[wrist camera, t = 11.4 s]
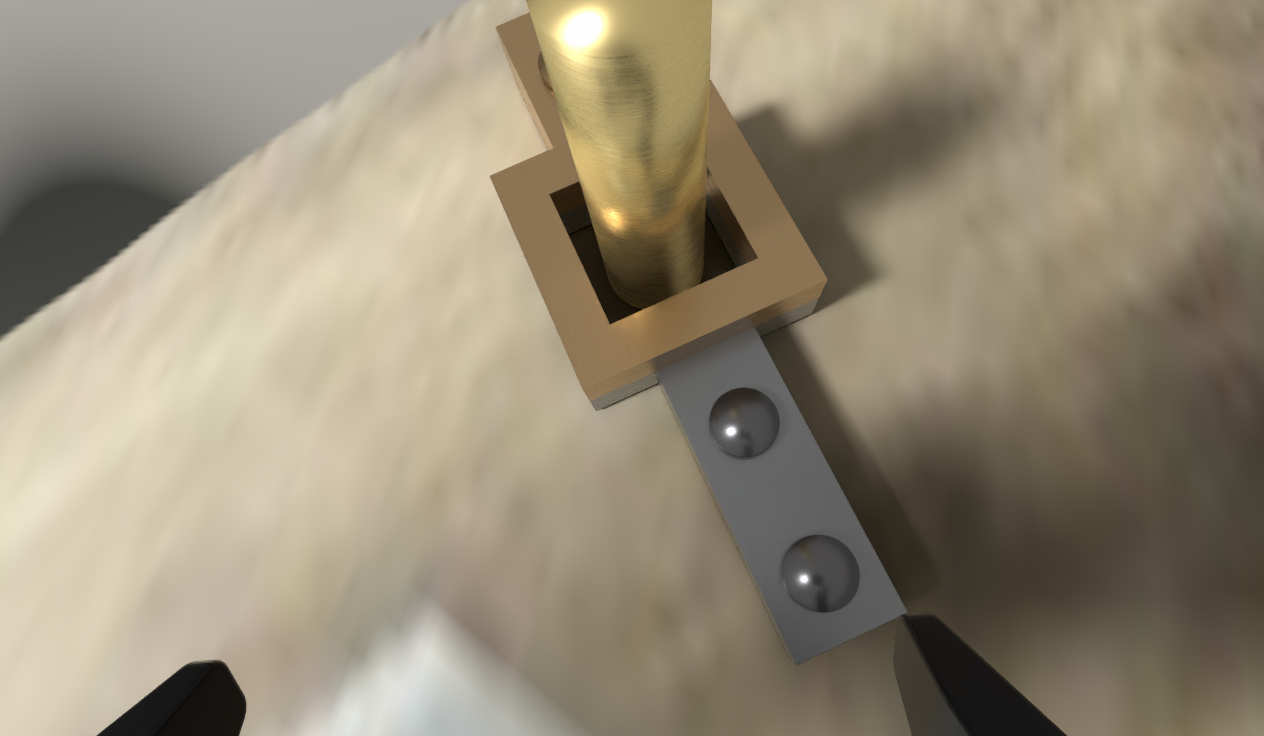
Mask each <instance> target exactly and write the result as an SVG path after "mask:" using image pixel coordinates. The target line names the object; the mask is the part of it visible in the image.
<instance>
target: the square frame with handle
mask: <svg viewBox="0 0 1264 736" xmlns="http://www.w3.org/2000/svg"><path fill="white" fill-rule="evenodd" d="M496 30H497V33H498V36H499V38H500V41H501V44H502V46H503V49H504V52H505V55H506V57H507V60H508V63H509V66H510V68H511V71H512V74H513V77H514V79H515V82H516V84H517V86H518V89H519V91H520V93H521V95H522V97H523V99H524V101H525V103H526V105H527V107H528V110H529V112H530V114H531V116H532V118H533V120H534V122H535V124H536V126H537V129H538V131H539V133H540V135H541V137H542V139H543V141H544V143H545V145H546V147H547V150H548V151H546V152H544V153H541V154H539V155H537V156H534V157H532V158H530V159H527V160H525V161H523V162H521V163H518V164H516V165H514V166H511V167H509V168H507V169H504V170H502V171H500V172H498V173H495V174H493V175H491V176H490V178H491V180H492V182H493V185H494V187H495V189H496V192H497V194H498V196H499V198H500V201H501V203H502V205H503V208H504V210H505V212H506V214H507V217H508V219H509V221H510V224H511V226H512V228H513V230H514V233H515V235H516V237H517V240H518V242H519V244H520V246H521V249H522V251H523V253H524V256H525V258H526V260H527V263H528V265H529V267H530V269H531V272H532V274H533V276H534V279H535V281H536V283H537V285H538V288H539V290H540V292H541V295H542V297H543V299H544V301H545V304H546V306H547V308H548V311H549V313H550V315H551V317H552V320H553V322H554V324H555V327H556V329H557V331H558V333H559V336H560V338H561V340H562V343H563V345H564V347H565V349H566V352H567V354H568V356H569V359H570V361H571V363H572V365H573V368H574V370H575V372H576V375H577V377H578V379H579V381H580V384H581V386H582V388H583V390H584V392H585V394H586V395H587V397H588V399H589V400H590V402H591V403H592V405H593V407H594V408H595V410H596V411H598V410H600V409H602V408H604V407H606V406H609V405H611V404H613V403H615V402H617V401H620V400H622V399H624V398H626V397H628V396H631V395H633V394H635V393H637V392H639V391H642V390H644V389H646V388H648V387H651V386H653V385H655V384H657V383H659V385H660V387H661V389H662V392H663V394H664V396H665V398H666V400H667V402H668V404H669V406H670V408H671V411H672V413H673V415H674V417H675V419H676V421H677V423H678V425H679V427H680V429H681V432H682V434H683V436H684V438H685V440H686V442H687V444H688V446H689V448H690V450H691V453H692V455H693V457H694V459H695V461H696V463H697V465H698V467H699V469H700V472H701V474H702V476H703V478H704V480H705V482H706V484H707V486H708V488H709V490H710V493H711V495H712V497H713V499H714V501H715V503H716V505H717V507H718V509H719V512H720V514H721V516H722V518H723V520H724V522H725V524H726V526H727V528H728V530H729V533H730V535H731V537H732V539H733V541H734V543H735V545H736V547H737V549H738V552H739V554H740V556H741V558H742V560H743V562H744V564H745V566H746V568H747V570H748V573H749V575H750V577H751V579H752V581H753V583H754V585H755V587H756V589H757V591H758V594H759V596H760V598H761V600H762V602H763V604H764V606H765V608H766V610H767V613H768V615H769V617H770V619H771V621H772V623H773V625H774V627H775V629H776V631H777V634H778V636H779V638H780V640H781V642H782V644H783V646H784V648H785V650H786V653H787V655H788V657H789V659H790V660H791V661H792V662H794V663H795V664H796V665H798V664H800V663H802V662H804V661H806V660H809V659H811V658H813V657H815V656H817V655H819V654H821V653H823V652H825V651H827V650H830V649H832V648H834V647H836V646H838V645H840V644H842V643H844V642H846V641H849V640H851V639H853V638H855V637H857V636H859V635H861V634H863V633H865V632H867V631H870V630H872V629H874V628H876V627H878V626H880V625H882V624H884V623H886V622H888V621H891V620H893V619H895V618H897V617H899V616H900V615H902V614H905V613H907V610H906V608H905V606H904V605H903V603H902V601H901V599H900V597H899V595H898V593H897V591H896V590H895V588H894V586H893V584H892V582H891V580H890V578H889V577H888V575H887V573H886V571H885V569H884V567H883V565H882V564H881V562H880V560H879V558H878V556H877V554H876V552H875V550H874V549H873V547H872V545H871V543H870V541H869V539H868V537H867V536H866V534H865V532H864V530H863V528H862V526H861V524H860V523H859V521H858V519H857V517H856V515H855V513H854V511H853V509H852V508H851V506H850V504H849V502H848V500H847V498H846V496H845V495H844V493H843V491H842V489H841V487H840V485H839V483H838V482H837V480H836V478H835V476H834V474H833V472H832V470H831V468H830V467H829V465H828V463H827V461H826V459H825V457H824V455H823V454H822V452H821V450H820V448H819V446H818V444H817V442H816V441H815V439H814V437H813V435H812V433H811V431H810V429H809V427H808V426H807V424H806V422H805V420H804V418H803V416H802V414H801V413H800V411H799V409H798V407H797V405H796V403H795V401H794V400H793V398H792V396H791V394H790V392H789V390H788V388H787V386H786V385H785V383H784V381H783V379H782V377H781V375H780V373H779V372H778V370H777V368H776V366H775V364H774V362H773V360H772V359H771V357H770V355H769V353H768V351H767V349H766V347H765V345H764V344H763V342H762V340H761V338H760V337H761V336H763V335H765V334H768V333H770V332H772V331H774V330H776V329H779V328H781V327H783V326H785V325H787V324H790V323H792V322H794V321H796V320H799V319H801V318H803V317H805V316H807V315H810V314H812V312H813V310H814V308H815V306H816V303H817V301H818V299H819V297H820V295H821V293H822V291H823V288H824V286H825V284H826V282H827V280H828V279H827V277H826V276H825V274H824V272H823V270H822V269H821V267H820V265H819V264H818V262H817V260H816V258H815V257H814V255H813V253H812V252H811V250H810V248H809V247H808V245H807V243H806V241H805V240H804V238H803V236H802V235H801V233H800V231H799V230H798V228H797V226H796V224H795V223H794V221H793V219H792V218H791V216H790V214H789V212H788V211H787V209H786V207H785V206H784V204H783V202H782V201H781V199H780V197H779V195H778V194H777V192H776V190H775V189H774V187H773V185H772V184H771V182H770V180H769V178H768V177H767V175H766V173H765V172H764V170H763V168H762V167H761V165H760V163H759V161H758V160H757V158H756V156H755V155H754V153H753V151H752V149H751V148H750V146H749V144H748V143H747V141H746V139H745V138H744V136H743V134H742V132H741V131H740V129H739V127H738V126H737V124H736V122H735V121H734V119H733V117H732V115H731V114H730V112H729V110H728V109H727V107H726V105H725V103H724V102H723V100H722V98H721V97H720V95H719V93H718V92H717V90H716V88H715V86H714V85H713V83H712V81H711V80H710V82H709V114H708V145H707V177H706V209H705V211H706V213H707V215H708V217H709V218H710V220H711V222H712V224H713V226H714V228H715V229H716V231H717V233H718V235H719V237H720V239H721V240H722V242H723V244H724V246H725V248H726V250H727V251H728V253H729V255H730V257H731V259H732V261H733V263H734V264H735V266H736V268H735V269H733V270H731V271H728V272H726V273H724V274H722V275H719V276H717V277H715V278H713V279H711V280H708V281H706V282H704V283H702V284H699V285H697V286H695V287H693V288H690V289H688V290H686V291H684V292H681V293H679V294H677V295H675V296H673V297H670V298H668V299H666V300H664V301H661V302H659V303H657V304H655V305H652V306H650V307H648V308H646V309H643V310H641V311H639V312H637V313H635V314H632V315H630V316H628V317H626V318H623V319H621V320H619V321H617V322H614V323H612V324H609V322H608V319H607V317H606V315H605V313H604V311H603V309H602V306H601V304H600V302H599V300H598V298H597V296H596V294H595V291H594V289H593V287H592V285H591V283H590V281H589V278H588V276H587V274H586V272H585V270H584V268H583V266H582V263H581V261H580V259H579V257H578V255H577V253H576V251H575V248H574V246H573V244H572V242H571V240H570V238H569V235H568V234H570V233H572V232H574V231H576V230H579V229H581V228H583V227H585V226H588V225H590V224H592V221H591V218H590V215H589V211H588V208H587V204H586V201H585V198H584V194H583V191H582V188H581V184H580V181H579V177H578V174H577V171H576V167H575V164H574V160H573V157H572V154H571V150H570V147H569V143H568V140H567V137H566V133H565V130H564V127H563V123H562V120H561V116H560V113H559V110H558V106H557V103H556V99H555V96H554V93H553V89H552V86H551V83H550V79H549V76H548V72H547V69H546V66H545V62H544V59H543V55H542V52H541V49H540V45H539V42H538V39H537V35H536V32H535V28H534V25H533V22H532V18H531V15H530V13H527V14H525V15H523V16H520V17H518V18H516V19H513V20H511V21H508V22H506V23H504V24H501V25H499V26H497V27H496Z"/></svg>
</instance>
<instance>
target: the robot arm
mask: <svg viewBox="0 0 1264 736" xmlns="http://www.w3.org/2000/svg"><path fill="white" fill-rule="evenodd" d="M893 660H894V669H895V674H896V678H897V682H898V686H899V689H900V693H901V697H902V700H903V704H904V708H905V711H906V715H907V719H908V722H909V726H910V730H911V733H912V736H1067V735H1066V734H1065V733H1064V732H1063V731H1061V730H1060V729H1059V728H1058V727H1057V726H1056V725H1055V724H1054V723H1053V722H1052V721H1051V720H1049V719H1048V718H1047V717H1046V716H1045V715H1044V714H1043V713H1042V712H1041V711H1040V710H1039V709H1037V708H1036V707H1035V706H1034V705H1033V704H1032V703H1031V702H1030V701H1029V700H1028V699H1027V698H1025V697H1024V696H1023V695H1022V694H1021V693H1020V692H1019V691H1018V690H1017V689H1016V688H1015V687H1014V686H1012V685H1011V684H1010V683H1009V682H1008V681H1007V680H1006V679H1005V678H1004V677H1003V676H1002V675H1000V674H999V673H998V672H997V671H996V670H995V669H994V668H993V667H992V666H991V665H990V664H988V663H987V662H986V661H985V660H984V659H983V658H982V657H981V656H980V655H979V654H978V653H977V652H975V651H974V650H973V649H972V648H971V647H970V646H969V645H968V644H967V643H966V642H965V641H963V640H962V639H961V638H960V637H959V636H958V635H957V634H956V633H955V632H954V631H953V630H951V629H950V628H949V627H948V626H947V625H946V624H945V623H944V622H943V621H942V620H941V619H939V618H938V617H937V616H936V615H934V614H932V613H929V612H921V613H907V614H902V615H900V616H899V618H898V621H897V628H896V637H895V647H894V657H893ZM245 714H246V699H245V696H244V694H243V692H242V690H241V689H240V687H239V685H238V684H237V682H236V680H235V678H234V677H233V675H232V673H231V671H230V670H229V668H228V666H227V665H226V664H225V663H224V662H222V661H221V660H206V661H195V662H191V663H188V664H186V665H185V666H183V667H182V668H181V669H179V670H178V671H177V672H176V673H174V674H173V675H172V676H171V677H169V678H168V679H167V680H166V681H164V682H163V683H162V684H161V685H159V686H158V687H157V688H156V689H154V690H153V691H152V692H151V693H149V694H148V695H147V696H146V697H144V698H143V699H142V700H141V701H139V702H138V703H137V704H136V705H134V706H133V707H132V708H131V709H129V710H128V711H127V712H126V713H124V714H123V715H122V716H120V717H119V718H118V719H117V720H115V721H114V722H113V723H112V724H110V725H109V726H108V727H107V728H105V729H104V730H103V731H102V732H100V733H99V734H98V735H97V736H239V734H240V731H241V728H242V725H243V722H244V719H245Z"/></svg>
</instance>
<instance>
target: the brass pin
mask: <svg viewBox="0 0 1264 736" xmlns="http://www.w3.org/2000/svg"><path fill="white" fill-rule="evenodd" d="M526 1H527V5H528V8H529V11H530V15H531V18H532V22H533V25H534V28H535V32H536V35H537V39H538V42H539V45H540V49H541V52H542V55H543V59H544V62H545V66H546V69H547V72H548V76H549V79H550V83H551V86H552V89H553V93H554V96H555V99H556V103H557V106H558V110H559V113H560V116H561V120H562V123H563V127H564V130H565V133H566V137H567V140H568V143H569V147H570V150H571V154H572V157H573V160H574V164H575V167H576V171H577V174H578V177H579V181H580V184H581V188H582V191H583V194H584V198H585V201H586V204H587V208H588V211H589V215H590V218H591V221H592V225H593V228H594V232H595V235H596V238H597V242H598V245H599V248H600V252H601V255H602V259H603V262H604V265H605V269H606V272H607V276H608V279H609V282H610V284H611V286H612V288H613V290H614V291H615V292H616V294H617V295H618V296H619V297H620V298H621V299H622V300H624V301H625V302H626V303H628V304H630V305H632V306H634V307H636V308H639V309H646V308H648V307H650V306H652V305H655V304H657V303H659V302H661V301H664V300H666V299H668V298H670V297H673V296H675V295H677V294H679V293H681V292H684V291H686V290H688V289H690V288H693V287H695V286H697V285H699V283H700V281H701V278H702V275H703V269H704V241H705V209H706V177H707V145H708V114H709V82H710V50H711V18H712V0H526Z"/></svg>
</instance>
